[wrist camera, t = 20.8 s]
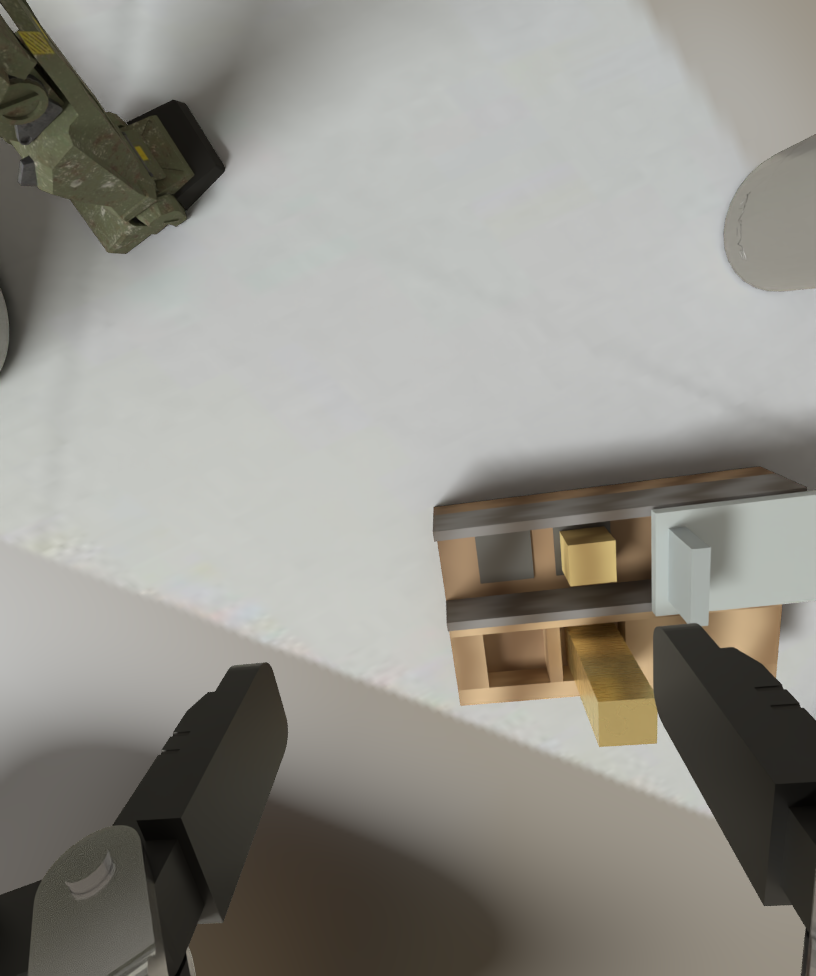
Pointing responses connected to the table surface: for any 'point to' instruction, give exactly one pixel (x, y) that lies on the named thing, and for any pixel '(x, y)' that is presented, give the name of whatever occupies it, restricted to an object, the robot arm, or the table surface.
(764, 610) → the board
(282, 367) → the table surface
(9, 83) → the mechanical leg
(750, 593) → the lid
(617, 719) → the pin
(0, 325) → the planter
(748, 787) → the robot arm
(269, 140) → the table surface
